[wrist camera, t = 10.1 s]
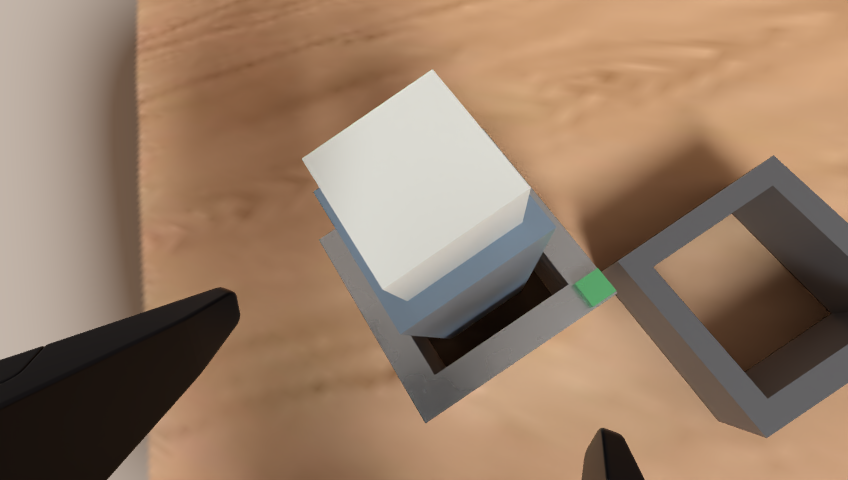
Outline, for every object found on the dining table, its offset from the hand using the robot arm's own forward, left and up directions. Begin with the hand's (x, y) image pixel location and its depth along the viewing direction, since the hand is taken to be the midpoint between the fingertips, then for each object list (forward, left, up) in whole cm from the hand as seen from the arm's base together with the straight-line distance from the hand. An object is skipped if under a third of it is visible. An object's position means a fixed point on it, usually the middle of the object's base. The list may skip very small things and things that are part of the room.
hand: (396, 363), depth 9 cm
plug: (+3, +2, -10) cm, 11 cm away
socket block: (+3, +2, -10) cm, 11 cm away
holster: (+12, -5, -10) cm, 16 cm away
